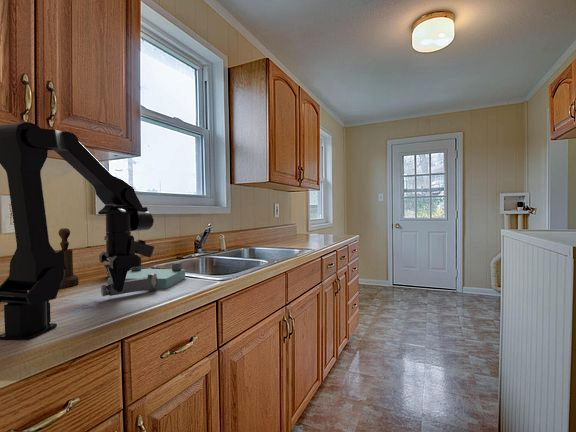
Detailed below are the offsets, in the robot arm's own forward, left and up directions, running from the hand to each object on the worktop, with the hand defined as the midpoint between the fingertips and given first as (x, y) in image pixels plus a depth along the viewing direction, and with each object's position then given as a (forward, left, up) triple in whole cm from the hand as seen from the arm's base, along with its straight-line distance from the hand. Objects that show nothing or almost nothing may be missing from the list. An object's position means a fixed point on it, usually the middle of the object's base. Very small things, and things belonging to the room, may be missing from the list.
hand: (119, 291), depth 80 cm
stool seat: (+18, +1, -2) cm, 18 cm away
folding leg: (+4, -1, -2) cm, 4 cm away
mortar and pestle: (+14, +26, -2) cm, 30 cm away
